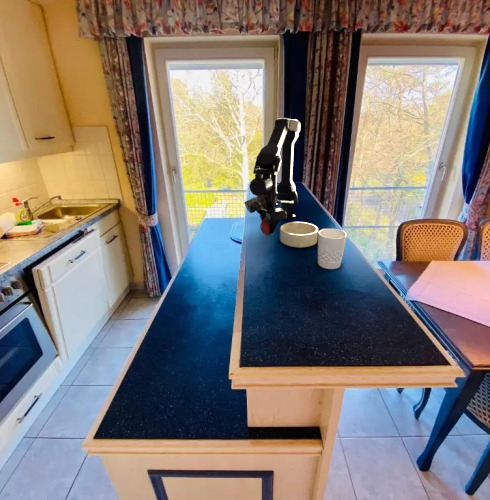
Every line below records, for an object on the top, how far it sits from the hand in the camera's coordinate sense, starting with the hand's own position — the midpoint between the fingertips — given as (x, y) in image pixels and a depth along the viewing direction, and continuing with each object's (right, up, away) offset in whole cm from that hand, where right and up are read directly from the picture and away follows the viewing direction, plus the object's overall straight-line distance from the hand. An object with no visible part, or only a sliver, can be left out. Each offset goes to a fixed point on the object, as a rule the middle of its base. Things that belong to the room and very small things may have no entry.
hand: (267, 230), depth 105 cm
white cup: (+17, -12, -20) cm, 29 cm away
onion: (0, -2, +1) cm, 2 cm away
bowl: (+11, -4, -4) cm, 12 cm away
